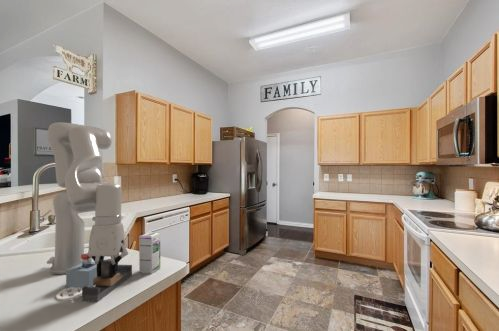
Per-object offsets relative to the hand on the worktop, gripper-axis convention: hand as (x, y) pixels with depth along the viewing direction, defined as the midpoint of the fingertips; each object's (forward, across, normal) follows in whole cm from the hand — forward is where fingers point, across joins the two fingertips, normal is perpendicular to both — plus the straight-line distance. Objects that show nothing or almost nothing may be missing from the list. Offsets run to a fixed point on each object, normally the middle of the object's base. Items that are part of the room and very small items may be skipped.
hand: (107, 274), depth 78 cm
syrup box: (+5, +7, +15) cm, 18 cm away
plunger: (-1, -10, +3) cm, 11 cm away
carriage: (+2, 0, 0) cm, 2 cm away
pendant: (+5, -9, -5) cm, 11 cm away
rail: (+5, 0, +1) cm, 5 cm away
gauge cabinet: (+5, -10, +4) cm, 12 cm away
